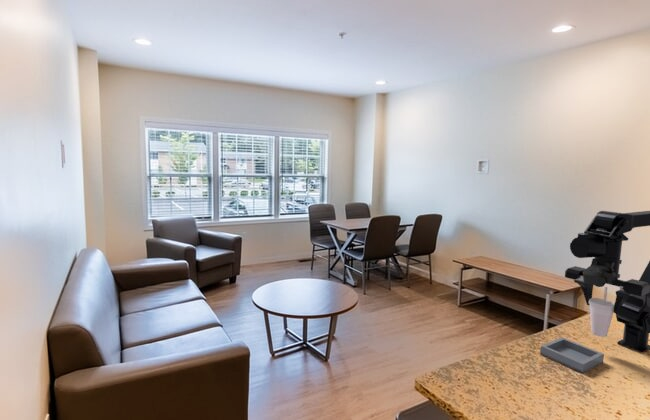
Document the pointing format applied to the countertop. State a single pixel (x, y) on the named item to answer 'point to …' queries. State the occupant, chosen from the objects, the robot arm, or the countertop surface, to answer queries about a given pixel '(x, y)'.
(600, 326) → the smoothie
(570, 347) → the tray
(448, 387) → the countertop surface
